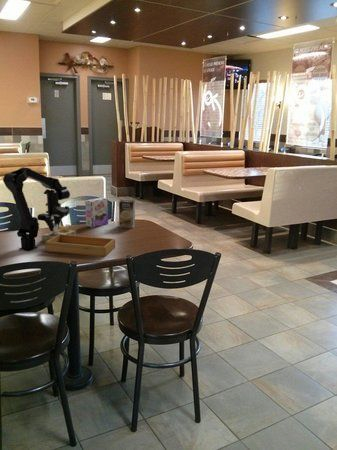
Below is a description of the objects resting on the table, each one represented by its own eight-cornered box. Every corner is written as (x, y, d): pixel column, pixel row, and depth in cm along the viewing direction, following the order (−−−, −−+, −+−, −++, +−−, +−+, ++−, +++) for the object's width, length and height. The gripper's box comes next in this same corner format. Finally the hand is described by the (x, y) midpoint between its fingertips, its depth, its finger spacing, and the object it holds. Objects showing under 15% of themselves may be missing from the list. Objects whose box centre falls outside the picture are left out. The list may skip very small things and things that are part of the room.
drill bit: (55, 241, 217) (54, 225, 214) (49, 240, 218) (48, 224, 216) (60, 239, 220) (59, 223, 218) (54, 238, 222) (53, 222, 220)
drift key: (67, 236, 225) (67, 228, 224) (60, 235, 227) (60, 226, 226) (69, 236, 226) (69, 227, 225) (62, 234, 228) (62, 226, 227)
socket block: (56, 243, 213) (56, 237, 213) (42, 240, 217) (41, 235, 217) (75, 235, 227) (75, 230, 226) (61, 233, 231) (61, 228, 231)
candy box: (92, 228, 245) (91, 201, 241) (85, 226, 248) (84, 200, 244) (108, 223, 255) (108, 198, 251) (102, 222, 259) (101, 197, 255)
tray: (115, 248, 208) (115, 237, 206) (105, 257, 193) (104, 246, 192) (59, 244, 213) (59, 233, 212) (45, 252, 199) (45, 241, 198)
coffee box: (118, 227, 247) (118, 201, 243) (120, 224, 253) (120, 199, 249) (133, 228, 246) (133, 202, 242) (135, 225, 252) (135, 200, 248)
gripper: (52, 206, 203) (54, 236, 206) (76, 200, 219) (77, 228, 223) (35, 204, 207) (37, 233, 211) (60, 198, 224) (61, 225, 227)
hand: (54, 230), depth 218 cm, fingers closed on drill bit, 4 cm apart
